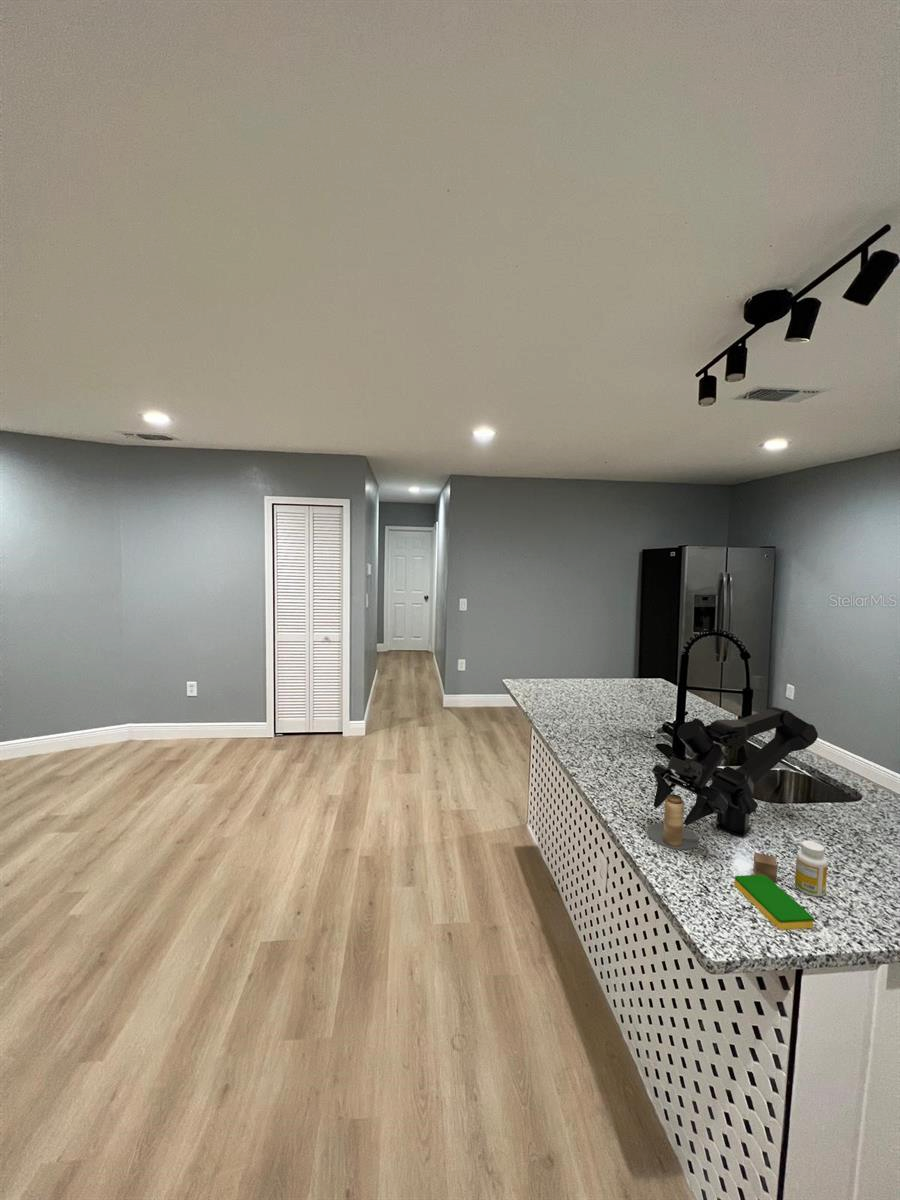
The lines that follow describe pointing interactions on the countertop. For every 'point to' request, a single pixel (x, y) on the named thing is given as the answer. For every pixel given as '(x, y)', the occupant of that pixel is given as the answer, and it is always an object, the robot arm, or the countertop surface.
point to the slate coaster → (657, 836)
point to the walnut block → (765, 866)
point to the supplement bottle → (811, 869)
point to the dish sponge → (774, 902)
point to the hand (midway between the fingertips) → (669, 815)
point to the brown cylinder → (673, 820)
